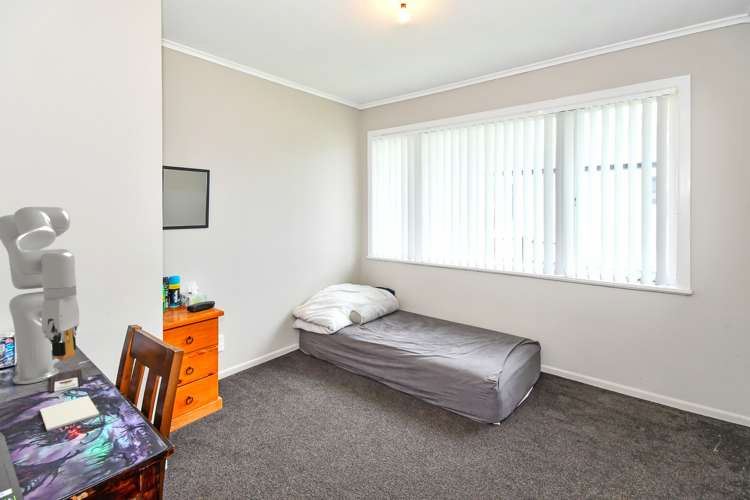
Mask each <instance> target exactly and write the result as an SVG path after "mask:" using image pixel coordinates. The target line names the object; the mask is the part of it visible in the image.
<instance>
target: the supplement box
mask: <svg viewBox="0 0 750 500" xmlns="http://www.w3.org/2000/svg"><path fill="white" fill-rule="evenodd" d="M55 332H57V330H55ZM55 335H57V336H58V337H59V334H55ZM63 342H65V347H66V355H64V356H55V358H57V359H59V361H64V360H68V359H70V358H74V357H75V350H74V346H73V336H72V328H71V329H69V330H67V331H64V339H63Z"/></svg>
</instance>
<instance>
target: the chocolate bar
mask: <svg viewBox="0 0 750 500" xmlns="http://www.w3.org/2000/svg"><path fill="white" fill-rule="evenodd" d="M83 383H84V382H83V376H82V368H79V369H74V370H69V371H64V372H58V373H57V374H56V375H55V376H53V377H50V379H49V389H48V391H49V392H48V394H50V395H51V394H54V393H58V392H63V391H68V390H73V389H76V388H81V387H80V386H82V387H84V384H83ZM72 388H73V389H72Z"/></svg>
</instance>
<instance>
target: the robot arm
mask: <svg viewBox="0 0 750 500" xmlns="http://www.w3.org/2000/svg"><path fill="white" fill-rule="evenodd" d="M70 225H71V217H70V215H69V213H68V212H67V211H66V210H65V209H64V208H61V207H57V206H55V207H54V206H26V207H21V208H19V209H17V210H16V211H15V213H14V214H8V215H7V214H6V215H2V216H0V241H1V243H2V245H3V247H4V249H6V252H7V254H8V261H9V270H10V278H11V282H12V286H13V287H14V288H15V289H17V290H35V289H42V290H43V291H35V292H26V293H21V294H18V295H15V296H14V297H12V298H11V299H10V300H9V304H8V306H9V312H10V315H11V318H12V322H13V328H14V336H15V348H16V350H15V351H16V361H17V363H16V364H17V372H18V373H17V375H15V376H14V377H12V384H15V385H29V384H35V383H39V382H43V381H46V380H50V377H53V376H55V375H56V374H57V373H59V369H58V368H56V367H54V366H55V365H57V364H58V363H60V360H59V359H57V357H56V356H64V355H66V347H65V342H63V339H64V331H67V330H69V329H71V328H72V336H73V346H74V351H75V350H76V349H77V343H76V337H77V329H78V327H79V326H80V311H79V310H80V309H79V305H78V299H77V295H78V293H77V282H76V280H77V279H76V267H75V266H76V265H75V264H76V259H75V255H74V253H73V252H71V251H70V250H68V249H66V248H65V249H64V248H57V249H55V248H54V249H45V248H47V247H49V246H51V245H52V244H53V243H54V242H55V240H56V239H57V238H58V237H60V236H62V235H63V234H64V233H65V232H67V231H68V230H69V228H70ZM55 330H57V332H55ZM55 334H59V337H58V336H57V335H55ZM53 357H55V358H53Z"/></svg>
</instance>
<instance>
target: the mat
mask: <svg viewBox="0 0 750 500" xmlns="http://www.w3.org/2000/svg"><path fill="white" fill-rule="evenodd" d="M39 411H40V414H41V417H42V420H43V424H44V426H45V429H46V431H47V432H49V431H52V430H57V429H59V428H62V427H65V426H69V425H72V424H74V423H78V422H82V421H84V420H89V419H91V418H95V417H98V416H100V412H99V410H98V409H97V407H96V406H95V404H94V402H93V401H92V400H91V398H90V396H89V395H86V396H83V397H79V398H75V399H72V400H68V401H64V402H61V403H57V404H54V405H50V406H45V407H42V408H40V409H39Z"/></svg>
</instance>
